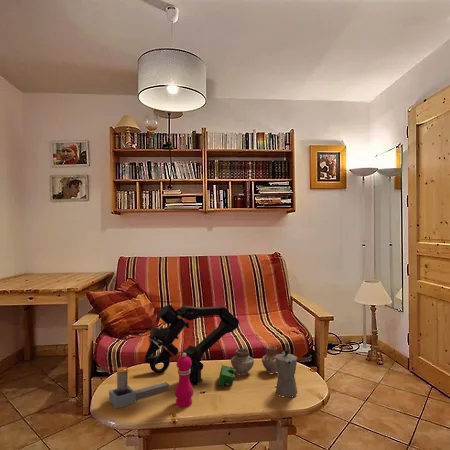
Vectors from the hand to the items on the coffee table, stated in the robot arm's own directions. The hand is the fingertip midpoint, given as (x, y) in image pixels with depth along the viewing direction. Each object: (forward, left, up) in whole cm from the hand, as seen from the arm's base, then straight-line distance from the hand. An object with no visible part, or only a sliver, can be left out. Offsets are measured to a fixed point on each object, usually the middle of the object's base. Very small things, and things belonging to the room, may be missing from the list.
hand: (150, 361), depth 149 cm
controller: (+10, -20, -14) cm, 27 cm away
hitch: (+2, +3, -14) cm, 14 cm away
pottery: (-33, -40, -14) cm, 54 cm away
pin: (+6, +10, -14) cm, 18 cm away
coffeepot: (-52, -25, -14) cm, 59 cm away
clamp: (-25, -24, -14) cm, 37 cm away
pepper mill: (-18, +2, -14) cm, 23 cm away
